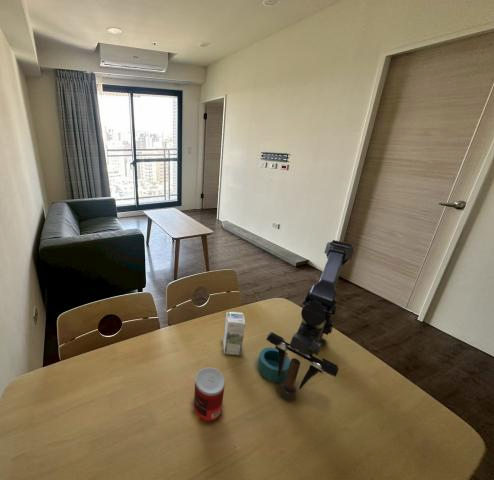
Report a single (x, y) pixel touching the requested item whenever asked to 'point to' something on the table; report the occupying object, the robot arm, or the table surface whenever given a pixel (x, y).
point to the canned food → (208, 394)
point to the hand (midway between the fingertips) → (289, 382)
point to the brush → (290, 381)
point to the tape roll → (272, 365)
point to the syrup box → (233, 333)
